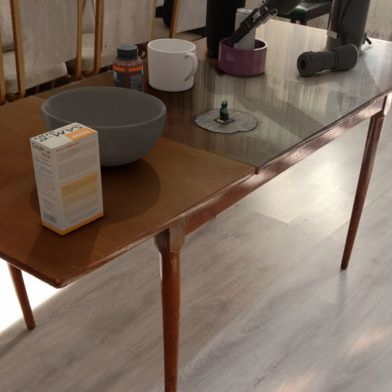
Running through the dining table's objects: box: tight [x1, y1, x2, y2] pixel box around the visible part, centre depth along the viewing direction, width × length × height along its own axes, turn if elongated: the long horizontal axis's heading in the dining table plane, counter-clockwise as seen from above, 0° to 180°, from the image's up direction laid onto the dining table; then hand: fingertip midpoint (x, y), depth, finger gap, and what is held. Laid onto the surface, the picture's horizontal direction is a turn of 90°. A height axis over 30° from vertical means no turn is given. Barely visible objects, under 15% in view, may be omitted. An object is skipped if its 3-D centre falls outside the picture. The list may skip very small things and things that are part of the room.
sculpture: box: [194, 100, 258, 134], centre depth 124 cm, size 12×9×8 cm
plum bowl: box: [217, 37, 269, 78], centre depth 148 cm, size 11×11×6 cm
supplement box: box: [29, 123, 104, 236], centre depth 88 cm, size 8×5×13 cm, turn 139°
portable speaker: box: [204, 0, 247, 58], centre depth 152 cm, size 9×9×20 cm
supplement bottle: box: [112, 43, 144, 93], centre depth 125 cm, size 6×6×11 cm
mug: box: [146, 38, 199, 93], centre depth 136 cm, size 13×10×8 cm
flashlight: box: [296, 44, 360, 77], centre depth 150 cm, size 15×5×5 cm, turn 121°
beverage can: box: [234, 7, 257, 50], centre depth 145 cm, size 5×5×12 cm
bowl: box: [40, 85, 167, 167], centre depth 105 cm, size 20×20×10 cm
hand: (237, 37), depth 146 cm, fingers closed on beverage can, 4 cm apart
